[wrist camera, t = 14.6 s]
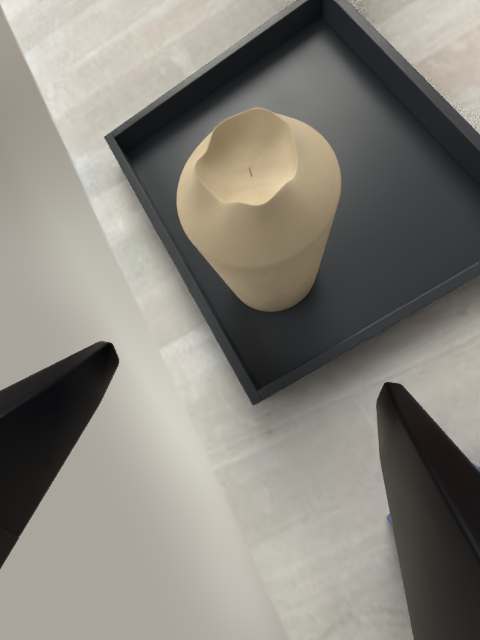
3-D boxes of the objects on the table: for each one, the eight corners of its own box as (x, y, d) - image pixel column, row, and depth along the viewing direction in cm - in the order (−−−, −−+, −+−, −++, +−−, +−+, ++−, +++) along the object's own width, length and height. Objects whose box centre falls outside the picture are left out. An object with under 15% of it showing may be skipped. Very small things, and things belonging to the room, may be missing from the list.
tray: (257, 400, 17) (253, 406, 15) (121, 157, 22) (103, 136, 19) (531, 241, 15) (568, 223, 13) (322, 17, 20) (326, -22, 18)
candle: (322, 306, 16) (368, 229, 7) (233, 318, 17) (160, 264, 8) (309, 222, 17) (334, 46, 8) (225, 237, 18) (151, 97, 9)
